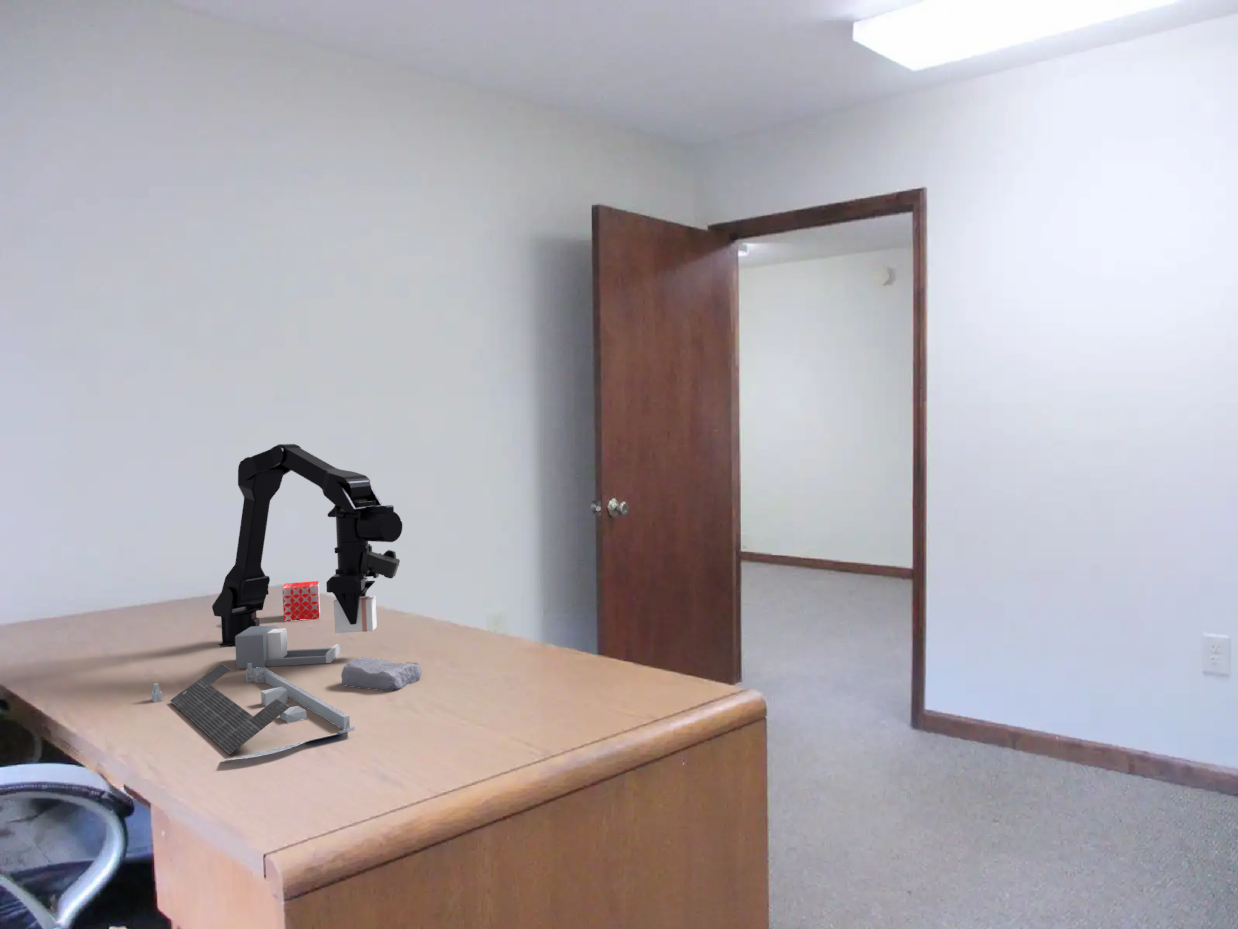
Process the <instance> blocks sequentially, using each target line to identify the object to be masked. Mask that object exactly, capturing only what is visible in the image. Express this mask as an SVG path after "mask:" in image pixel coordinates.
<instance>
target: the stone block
mask: <svg viewBox="0 0 1238 929" xmlns="http://www.w3.org/2000/svg"><path fill="white" fill-rule="evenodd" d="M422 672H423V671H422V666H421V664H420V663H419V662H411V661H410V662H404V663H403V662H392V661H389V660H386V659H383V658H377V657H361V658H356V659H353V660H351V661H349V662H347V663H346V664H345V665H344V666H343V667H342V671H341V674H340V677H341V684H342V686H343V685H347V686H346V687H349V686H354V687H353V688H357V687H360V688H359V689H365V688H370V689H369V690H374V689H377V690H376V691H381V690H383V692H387V691H388V690H392V691H393V692H395V690H396V691H398V690H400V689H403V688H405V687H407V686H408V685H407V684H409V685H412V683H413V684H415V683H418V682H419V681H420V680H421V677H422ZM417 681H418V682H417ZM406 685H407V686H406ZM399 688H400V689H399ZM392 691H391V692H392ZM388 692H389V691H388Z"/></svg>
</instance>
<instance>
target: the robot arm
mask: <svg viewBox="0 0 1238 929" xmlns="http://www.w3.org/2000/svg"><path fill="white" fill-rule="evenodd" d="M237 467H238V469H237V472H238V473H237V486H238V487H239V490H240V492H241V494H242V496H243V505H242V511H241V519H240V524H239V525H240V526H239V535H238V540H237V541H238V542H237V549H236V556H235V562H234V566H232V568H231V569H230V570H229V572H228V573H227V574H226V576H225V578H224V582H223V585H222V588H221V592H220V593H219V595H218V597H217V598H216V599H215V601H214V603H213V604H212V606H211V608H212V612H213V616H214V617H219V618H220V621H221V623H220V624H221V642H220V643H218V645H219V647H222V646H223V647H224V646H235V636H237V635H238V634H240V633H241V632H243V631H245V630H246V629H248V628H249V627H251V626H261V625H260V618H259V617H257V611H263V610H264V604H265V600H266V598H267V595H269V585H270V581H271V579H270V576H269V575H266V574H265V572H264V571H263V568H262V560H263V554H264V547H265V539H266V532H267V524H268V517H269V511H270V510H269V509H270V504H271V500H272V499H273V497H274V496H275V495H276V493H277V492H278V491H279V490H280V487H281V485H282V481H283V478H284V476H285V475H287V474H288V473H290V472H293V473H295V474H297V475H299V476H301V477H302V478H304V479H305V480H308V481H309V482H311V483H313V484H314V485H316V486H318V488H320V489H321V491H322V493H323V496H324V497H325V498H326V499H327V500H329V501H330V503H332V504H333V505H334V506H333V508H332V509H331V510H330V511H328V513H327V517H329V518H335V527H336V547H334V554H337V568H336V569H335V574H333V575H332V576H331V577H330V578H329V579H328V580H327V581H326V582H325V583H326V584H325V585H326V593H330V594H331V593H332V595H334V597H335V598H336V599H337V600H338V602H339V604H340V606H341V607H342V609H343V611H344V613H345V615H346V617H347V619H348V621H349V623H350V624H351V625H353V624H356V623H357V616H358V609H359V601H360V597H364V596H367V593H368V592H367V591H368V590H369V589H370V588H371V587H372V586H373V585H374V584H375V583H376V580H368V578H370V577H373V579H377V578H379V577H380V576H383V577H384V578H386V579H393V578H394V577H396V575H397V571H398V568H399V566H400V561H401V560H400V558H397V555H396V551H394V550H391V549H388V550H386V551H385V552H384V553H383V554H382V553H377V552H374V551H373V546H372V545H371V543H369V542H378V543H394V542H396V541H397V540H398V539H399V538H400V537H401V534H402V533H403V521H402V520H401V518H400V515H399V514H398V513H397V512H395V510H394V508H395V507H394V505H391V504H390V505H388V504H387V505H383V502H382V500H381V499H380V497H379V496H378V494H377V492H376V491H375V489H374V488H373V485H372V484H371V480H370V478H369V477H368V476H367V475H365V474H363V473H359V472H355V471H351V470H346V469H340V468H337V467H336V466H333V465H331V464H329V463H328V462H326V461H324V460H323V459H320V458H319V457H317V456H315V455H314V454H312V453H309V452H308V451H306V450H304V449H303V448H302V447H301V446H300V445H298V444H296V443H282V444H281V443H280V444H277V445H275V446H273V447H271V448H270V449H268V450H265V451H262V452H260V453H257V454H255V455H252V456H247V457H245V458H243V459H241V460H240V462H239V464H238V466H237Z"/></svg>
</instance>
